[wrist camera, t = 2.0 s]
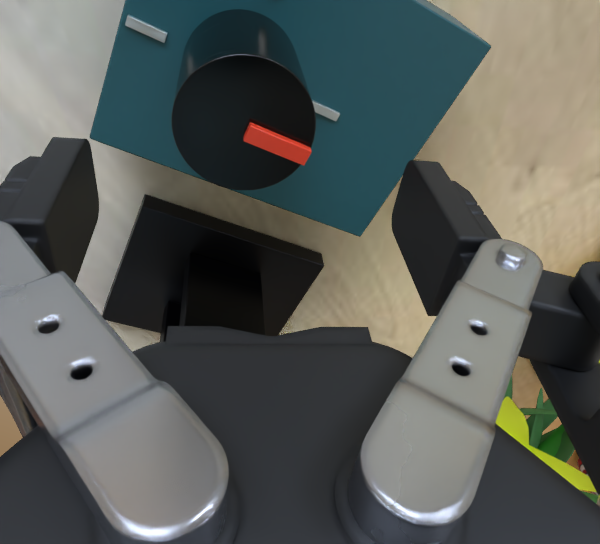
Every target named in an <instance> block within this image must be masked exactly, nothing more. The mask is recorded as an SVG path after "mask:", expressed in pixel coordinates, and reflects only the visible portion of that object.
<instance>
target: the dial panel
mask: <svg viewBox="0 0 600 544" xmlns="http://www.w3.org/2000/svg"><path fill="white" fill-rule="evenodd" d="M232 9H244V10H250V11H254V12H258V13H260V14H262V15H265V16H266V17H268V18H270V19H271V20H273V21H274V22H275V23H277V24H278V25H279V26H280V27H281V28H282V29H283V30H284V31H285V33H286V34H287V36H288V37H289V39H290V40H291V42H292V44H293V46H294V49H295V51H296V54H297V57H298V60H299V63H300V66H301V69H302V72H303V75H304V78H305V81H306V84H307V87H308V90H309V93H310V96H311V99H312V102H313V105H314V109H315V115H316V132H315V137H314V141H313V144H312V147H311V150H312V153H311V154H310V156H309V158H308V160H307V162H306V163H305V165H304V166H303V165H300V166H299V168H298V169H297V170H296V171H295V172H293V173H292V174H291V175H290V176H288V177H287V178H286V179H284V180H282V181H281V182H279V183H277V184H274V185H272V186H269V187H266V188H262V189H257V190H234V189H230V190H233V191H236V192H238V193H241V194H244V195H247V196H249V197H252V198H255V199H258V200H260V201H263V202H266V203H269V204H271V205H274V206H277V207H280V208H282V209H285V210H288V211H291V212H293V213H296V214H299V215H302V216H304V217H307V218H310V219H313V220H315V221H318V222H321V223H324V224H326V225H329V226H332V227H335V228H337V229H340V230H343V231H346V232H348V233H351V234H354V235H356V236H361V235H362V233H363V232H364V230H365V229H366V228H367V226H368V225H369V223H370V222H371V220H372V219H373V217H374V216H375V215H376V213H377V212H378V210H379V209H380V207H381V206H382V204H383V203H384V202H385V200H386V199H387V197H388V196H389V194H390V193H391V191H392V190H393V189H394V187H395V186H396V184H397V183H398V181H399V180H400V178H401V177H402V176H403V173H404V170H405V167H406V165H407V163H408V162H409V161H411V160H414V158H415V157H416V155H417V154H418V152H419V151H420V149H421V148H422V147H423V145H424V144H425V142H426V141H427V139H428V138H429V136H430V135H431V134H432V132H433V131H434V129H435V128H436V126H437V125H438V123H439V122H440V121H441V119H442V118H443V116H444V115H445V113H446V112H447V110H448V109H449V108H450V106H451V105H452V103H453V102H454V100H455V99H456V97H457V96H458V94H459V93H460V92H461V90H462V89H463V87H464V86H465V84H466V83H467V81H468V80H469V79H470V77H471V76H472V74H473V73H474V71H475V70H476V68H477V67H478V66H479V64H480V63H481V61H482V60H483V58H484V57H485V55H486V54H487V53H488V51H489V50H490V48H491V45H489V44H488V43H487V42H486V41H484V40H483V39H482V38H480V37H479V36H478V35H476V34H475V33H474V32H472V31H471V30H470V29H469V28H467V27H466V26H465V25H463V24H462V23H461V22H459V21H458V20H457V19H456V18H454V17H453V16H451V15H450V14H448V13H446V12H445V11H443V10H442V9H440V8H438V7H437V6H435V5H433V4H432V3H430V2H428V1H427V0H126V1H125V4H124V8H123V12H122V16H121V19H120V23H119V27H118V31H117V35H116V38H115V42H114V46H113V50H112V54H111V57H110V61H109V65H108V69H107V73H106V76H105V80H104V84H103V88H102V92H101V95H100V99H99V103H98V107H97V111H96V114H95V118H94V122H93V126H92V130H91V133H90V138H91V139H93V140H96V141H98V142H101V143H104V144H107V145H109V146H112V147H115V148H118V149H120V150H123V151H126V152H129V153H131V154H134V155H137V156H140V157H142V158H145V159H148V160H150V161H153V162H156V163H159V164H161V165H164V166H167V167H170V168H172V169H175V170H178V171H181V172H183V173H186V174H189V175H192V176H194V177H197V178H200V179H203V180H205V181H208V180H206V179H204V178H203V177H201V176H200V175H199V174H197V173H196V172H195V171H194V170H193V169H192V168H191V167H190V166H189V165H188V164H187V162H186V161H185V160H184V159H183V157H182V155H181V154H180V152H179V150H178V148H177V146H176V144H175V140H174V137H173V132H172V126H171V116H172V108H173V102H174V97H175V92H176V87H177V82H178V77H179V72H180V67H181V62H182V57H183V52H184V49H185V46H186V43H187V41H188V39H189V37H190V36H191V34H192V32H193V31H194V30H195V29H196V27H197V26H198V25H199V24H201V23H202V22H203V21H204V20H206V19H207V18H208V17H210V16H212V15H214V14H216V13H219V12H222V11H225V10H232ZM208 182H209V181H208ZM227 189H228V188H227Z"/></svg>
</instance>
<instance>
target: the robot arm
mask: <svg viewBox="0 0 600 544" xmlns="http://www.w3.org/2000/svg"><path fill="white" fill-rule="evenodd" d="M98 213H99V198H98V191H97V184H96V178H95V171H94V165H93V159H92V152H91V147H90V144H89V141H88V140H87V139H75V138H59V137H53V138H52V139H51V141H50V143H49V144H48V146H47V148H46V149H45V151H44V153H43V154H42V156H41V157H32V156H30V157H28V158H27V159H25V160H23V161H22V162H20V163H18V164H17V165H15V166H14V167H13V168H12V169H11V171H10V172H9V174H8V175H7V177H6V178H5V181H3V183H2V184H1V186H0V395H1V397H2V399H3V400H4V402H5V404H6V406H7V407H8V409H9V411H10V413H11V414H12V416H13V418H14V420H15V422H16V424H17V426H18V428H19V431H20V433H21V434H22V437H23V438H22V439H21V440H20V441H19V442H17V443H16V444H15V445H14V446H13V447H11V448H10V449H9V450H8V451H7V452H5V453H4V454H3V455H2V456H1V457H0V544H600V363H599V360H600V262H587V263H585V264H583V265H582V266H581V268H580V269H579V271H578V273H577V274H576V276H575V277H571V276H566V275H562V274H558V273H554V272H550V271H546V270H543V264H542V261H541V260H540V258H539V257H538V256H537V255H536V254H535V253H534V252H533V251H531V250H530V249H528V248H527V247H525V246H523V245H521V244H519V243H516V242H513V241H510V240H505V239H502V238H501V237H500V235H499V234H498V232H497V231H496V229H495V228H494V226H493V225H492V224H491V222H490V221H489V219H488V218H487V216H486V215H484V212H483V211H482V209H481V208H480V206H479V205H477V202H476V201H475V199H474V198H473V196H472V195H471V193H470V192H469V191H468V190H466V189H465V188H464V187H462V186H461V185H460V184H458V183H457V182H456V181H451V180H450V178H449V177H448V175H447V174H446V172H445V171H444V169H443V168H442V166H441V165H440V163H438V162H430V161H414V160H411V161H409V162H408V163H407V165H406V167H405V170H404V173H403V177H402V180H401V184H400V187H399V191H398V195H397V198H396V202H395V205H394V209H393V213H392V230H393V234H394V236H395V239H396V241H397V243H398V246H399V248H400V251H401V253H402V255H403V258H404V260H405V262H406V265H407V267H408V269H409V272H410V274H411V277H412V279H413V281H414V284H415V286H416V288H417V291H418V293H419V295H420V298H421V300H422V303H423V305H424V307H425V310H426V312H427V314H428V316H437V317H436V319H435V321H434V322H433V324H432V326H431V328H430V329H429V331H428V333H427V335H426V336H425V338H424V340H423V342H422V343H421V345H420V347H419V349H418V350H417V352H416V354H415V355H414V357H413V358H411V357H410V356H408V355H406V354H404V353H402V352H400V351H398V350H396V349H393V348H391V347H388V346H385V345H382V344H379V343H374V342H372V340H371V337H370V333H369V330H368V327H318V328H313V329H308V330H303V331H298V332H293V333H288V334H283V335H278V336H266V335H261V334H256V333H251V332H246V331H240V330H235V329H230V328H225V327H220V326H168V327H167V335H166V341H164V342H159V343H155V344H152V345H149V346H145V347H143V348H141V349H138V350H136V351H133V352H132V351H131V350H130V349H129V347H128V346H127V345H126V344H125V343H124V342H123V340H122V339H121V338H120V337H119V336H118V334H117V333H116V332H115V331H114V330H113V329H112V327H111V326H110V325H109V324H108V323H107V321H106V320H105V319H104V318H103V317H102V315H101V314H100V313H99V312H98V311H97V310H96V308H95V307H94V306H93V305H92V304H91V302H90V301H89V300H88V299H87V298H86V296H85V295H84V294H83V293H82V292H81V291H80V289H79V288H78V287H77V286H76V285H75V282H76V280H77V277H78V274H79V271H80V268H81V265H82V263H83V260H84V257H85V254H86V251H87V248H88V246H89V243H90V240H91V237H92V234H93V231H94V229H95V226H96V223H97V220H98ZM518 356H520V357H524V358H528V359H529V360H530V362H531V364H532V366H533V368H534V370H535V372H536V374H537V376H538V378H539V380H540V382H541V384H542V386H543V388H544V390H545V392H546V394H547V396H548V398H549V399H550V401H551V403H552V405H553V407H554V409H555V411H556V413H557V415H558V417H559V419H560V421H561V423H562V425H563V427H564V429H565V431H566V433H567V435H568V437H569V439H570V441H571V443H572V444H573V446H574V448H575V450H576V452H577V454H578V456H579V458H580V460H581V462H582V464H583V466H584V468H585V470H586V472H587V474H588V476H589V478H590V480H591V482H592V484H593V486H594V488H595V489H596V491H597V493H598V495H599V497H598V500H597V504H596V503H595V502H594V501H592V500H591V499H590V498H589V497H587V496H586V495H585V494H584V493H582V492H581V491H580V490H578V489H577V488H576V487H575V486H573V485H572V484H571V483H570V482H568V481H567V480H566V479H565V478H563V477H562V476H561V475H560V474H558V473H557V472H556V471H555V470H553V469H552V468H551V467H550V466H548V465H547V464H546V463H545V462H543V461H542V460H541V459H540V458H538V457H537V456H536V455H535V454H533V453H532V452H531V451H530V450H528V449H527V448H526V447H525V446H523V445H522V444H521V443H519V442H518V441H517V440H516V439H514V438H513V437H512V436H511V435H509V434H508V433H507V432H506V431H504V430H503V429H502V428H501V427H499V426H498V425H497V424H496V419H497V416H498V413H499V410H500V408H501V405H502V402H503V399H504V396H505V393H506V390H507V387H508V384H509V381H510V378H511V375H512V372H513V369H514V366H515V363H516V360H517V357H518Z"/></svg>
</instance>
